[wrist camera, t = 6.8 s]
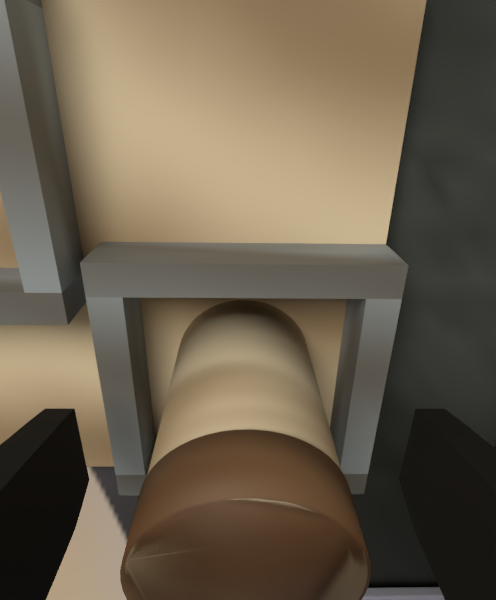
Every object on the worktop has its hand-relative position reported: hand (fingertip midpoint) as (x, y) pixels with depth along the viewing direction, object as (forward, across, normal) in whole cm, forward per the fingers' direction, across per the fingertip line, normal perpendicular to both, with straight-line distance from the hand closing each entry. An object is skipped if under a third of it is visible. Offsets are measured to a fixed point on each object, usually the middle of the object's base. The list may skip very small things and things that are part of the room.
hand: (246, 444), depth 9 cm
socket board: (+4, +4, -3) cm, 6 cm away
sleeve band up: (+3, 0, 0) cm, 3 cm away
